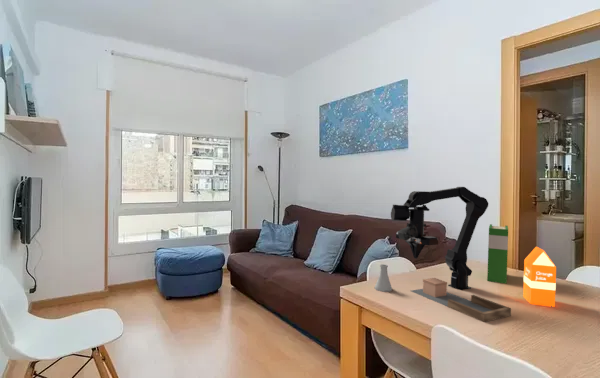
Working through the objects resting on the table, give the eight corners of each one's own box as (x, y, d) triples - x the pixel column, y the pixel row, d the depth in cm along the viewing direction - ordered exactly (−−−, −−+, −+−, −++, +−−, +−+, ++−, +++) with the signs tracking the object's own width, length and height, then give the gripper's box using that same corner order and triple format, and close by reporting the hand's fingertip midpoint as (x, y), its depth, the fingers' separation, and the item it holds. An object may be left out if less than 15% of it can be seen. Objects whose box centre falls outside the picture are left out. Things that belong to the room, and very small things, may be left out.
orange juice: (546, 299, 127) (548, 247, 127) (555, 307, 119) (557, 251, 118) (522, 296, 130) (524, 245, 129) (529, 304, 121) (531, 249, 121)
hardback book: (488, 272, 165) (489, 224, 164) (505, 274, 161) (507, 225, 161) (487, 281, 150) (488, 228, 149) (506, 283, 146) (508, 229, 146)
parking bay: (473, 301, 122) (473, 294, 122) (510, 315, 109) (511, 308, 109) (447, 306, 116) (447, 299, 116) (484, 322, 104) (484, 314, 104)
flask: (393, 293, 130) (393, 268, 130) (374, 291, 132) (374, 266, 132) (391, 287, 138) (392, 263, 137) (373, 286, 139) (374, 262, 139)
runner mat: (433, 287, 138) (433, 286, 138) (510, 316, 109) (510, 315, 109) (409, 291, 133) (409, 290, 133) (483, 322, 104) (483, 321, 104)
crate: (434, 290, 134) (434, 277, 134) (446, 295, 128) (447, 282, 128) (422, 292, 131) (423, 279, 131) (435, 297, 126) (435, 284, 125)
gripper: (386, 219, 144) (385, 255, 144) (418, 224, 127) (417, 265, 127) (406, 218, 148) (405, 253, 149) (439, 223, 132) (438, 262, 132)
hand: (415, 258), depth 139 cm, fingers closed
